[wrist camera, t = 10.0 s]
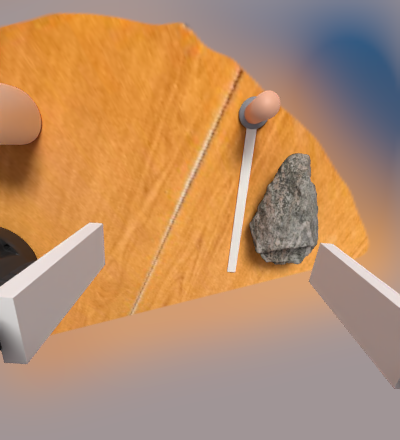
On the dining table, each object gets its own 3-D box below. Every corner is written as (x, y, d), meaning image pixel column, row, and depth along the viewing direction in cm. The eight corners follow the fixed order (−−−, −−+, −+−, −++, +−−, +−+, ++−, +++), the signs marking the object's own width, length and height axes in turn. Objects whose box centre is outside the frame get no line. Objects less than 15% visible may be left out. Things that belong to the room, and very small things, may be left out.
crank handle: (219, 270, 42) (222, 297, 35) (241, 96, 33) (251, 81, 25) (242, 271, 42) (250, 299, 35) (270, 98, 33) (290, 85, 25)
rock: (328, 254, 38) (310, 287, 32) (275, 246, 45) (250, 272, 38) (323, 145, 33) (299, 158, 26) (263, 155, 39) (232, 167, 33)
